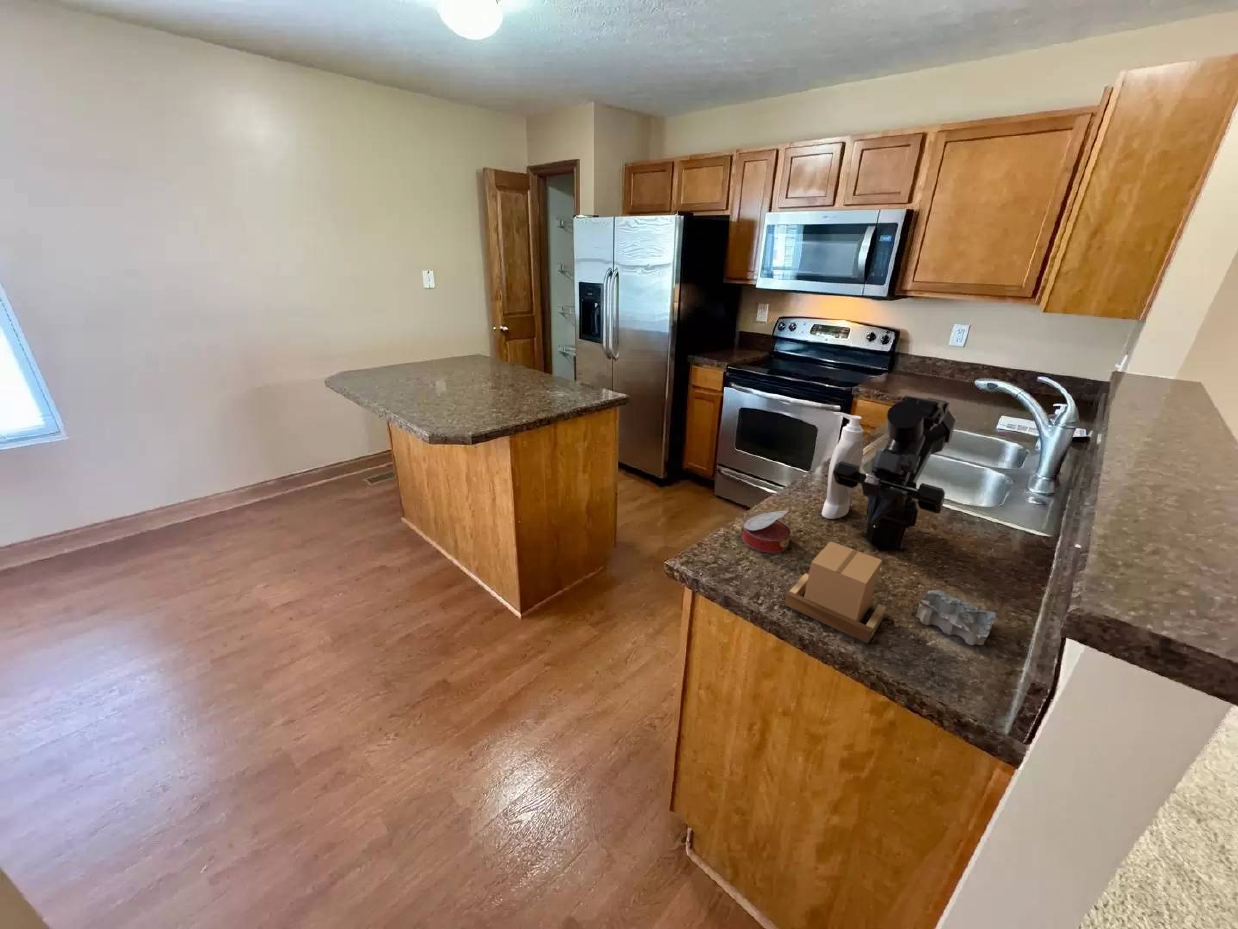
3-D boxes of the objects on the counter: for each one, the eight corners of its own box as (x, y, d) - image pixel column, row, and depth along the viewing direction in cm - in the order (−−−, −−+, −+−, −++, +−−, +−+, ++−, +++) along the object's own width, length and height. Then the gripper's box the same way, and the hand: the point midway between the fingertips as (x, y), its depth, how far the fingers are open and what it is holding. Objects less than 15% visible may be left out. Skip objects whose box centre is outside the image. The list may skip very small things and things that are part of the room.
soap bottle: (827, 496, 132) (846, 405, 123) (857, 507, 127) (879, 413, 117) (802, 512, 124) (820, 416, 114) (833, 524, 119) (855, 425, 109)
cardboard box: (820, 585, 98) (830, 540, 94) (869, 606, 92) (882, 559, 88) (801, 608, 91) (811, 561, 87) (853, 632, 86) (866, 583, 82)
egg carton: (910, 618, 90) (916, 599, 88) (925, 600, 94) (931, 582, 93) (980, 652, 83) (988, 632, 81) (993, 630, 87) (1000, 611, 86)
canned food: (759, 570, 110) (746, 539, 104) (741, 541, 118) (727, 511, 113) (807, 547, 109) (796, 514, 104) (785, 519, 117) (774, 488, 112)
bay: (803, 583, 98) (805, 573, 97) (882, 618, 90) (886, 606, 89) (784, 605, 92) (786, 594, 91) (867, 644, 84) (871, 632, 83)
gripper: (846, 421, 97) (813, 492, 94) (959, 447, 86) (927, 528, 83) (851, 449, 106) (821, 515, 102) (954, 475, 95) (925, 550, 91)
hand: (869, 525), depth 95 cm, fingers closed
